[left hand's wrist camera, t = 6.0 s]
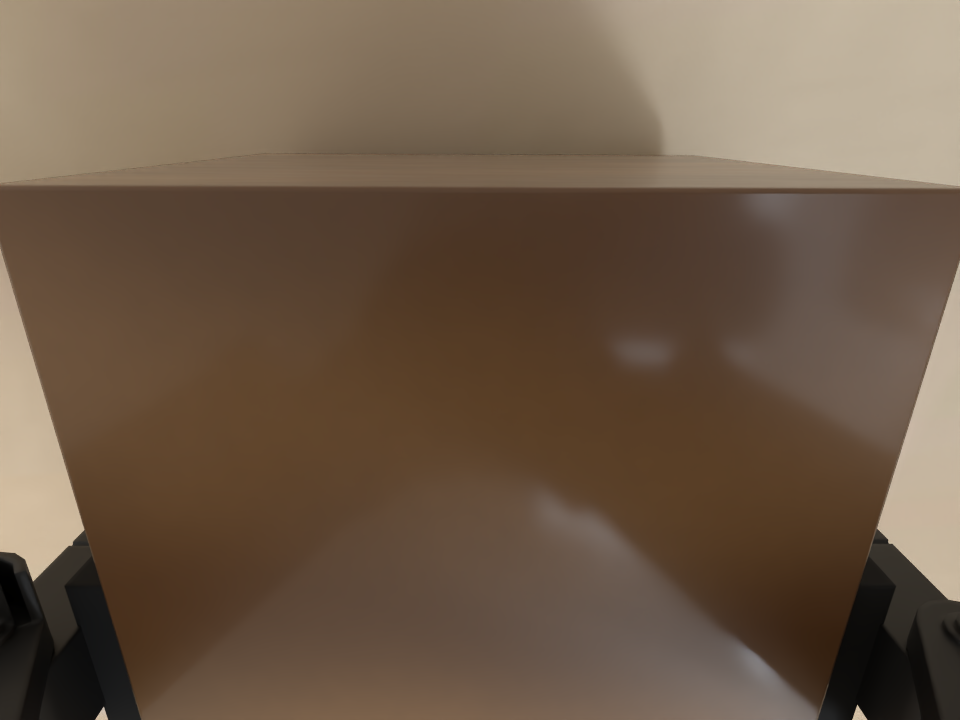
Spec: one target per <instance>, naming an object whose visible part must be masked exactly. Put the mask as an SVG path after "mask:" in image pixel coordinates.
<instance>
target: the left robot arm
mask: <svg viewBox="0 0 960 720" xmlns="http://www.w3.org/2000/svg"><path fill="white" fill-rule="evenodd" d="M857 705H858V706H859V708H860V709H861V711H862V712H863V714H864V715H865V717H866V718H867V720H960V602H957V601H952V600H948V599H947V598H946V597H945V596H944V595H943V594H942V593H941V592H940V591H939V590H938V589H937V588H936V587H935V586H934V585H933V584H932V583H931V582H930V581H929V580H928V579H927V578H926V577H925V576H924V575H923V574H922V573H921V572H920V571H919V570H918V569H917V568H916V567H915V566H914V565H913V564H912V563H911V562H910V561H909V560H908V559H907V558H906V557H905V556H904V555H903V554H902V553H901V552H900V551H899V550H898V549H897V548H896V547H895V546H894V545H893V544H889V543H888V539H887V538H886V537H885V536H884V535H883V534H882V533H881V532H880V531H879V530H878V529H876V533H875V536H874V539H873V542H872V546H871V549H870V552H869V555H868V558H867V562H866V565H865V568H864V571H863V575H862V578H861V581H860V584H859V588H858V591H857V594H856V597H855V600H854V604H853V607H852V610H851V613H850V617H849V620H848V623H847V626H846V630H845V633H844V636H843V639H842V642H841V646H840V649H839V652H838V655H837V659H836V662H835V665H834V668H833V671H832V675H831V678H830V681H829V684H828V688H827V691H826V694H825V697H824V701H823V704H822V707H821V710H820V713H819V717H818V720H852V719H853V716H854V713H855V710H856V707H857ZM103 707H104V708H105V711H106V714H107V717H108V720H141V717H140V714H139V710H138V707H137V704H136V700H135V697H134V694H133V690H132V687H131V684H130V680H129V677H128V673H127V670H126V667H125V663H124V660H123V657H122V653H121V650H120V647H119V643H118V640H117V637H116V633H115V630H114V627H113V623H112V620H111V616H110V613H109V610H108V606H107V603H106V600H105V596H104V593H103V590H102V586H101V583H100V580H99V576H98V573H97V570H96V566H95V563H94V560H93V556H92V553H91V549H90V546H89V543H88V539H87V536H86V533H85V530H84V531H83V532H82V533H81V534H80V535H79V536H78V537H77V538H76V539H75V540H74V541H73V545H72V546H68V547H67V548H66V549H65V550H64V551H63V552H62V553H61V554H60V555H59V556H58V557H57V558H56V559H55V560H54V561H53V562H52V563H51V564H50V565H49V566H48V567H47V568H46V569H45V570H44V571H43V572H42V573H41V574H40V575H39V576H38V577H37V578H36V579H35V580H34V582H33V581H32V578H31V575H30V572H29V570H28V567H27V564H26V561H25V559H23V558H22V557H20V556H19V555H17V554H15V553H7V552H0V720H95V719H96V717H97V716H98V714H99V713H100V711H101V710H102V708H103Z"/></svg>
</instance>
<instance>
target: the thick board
mask: <svg viewBox="0 0 960 720" xmlns="http://www.w3.org/2000/svg"><path fill="white" fill-rule="evenodd" d="M0 248H1V251H2V255H3V258H4V261H5V265H6V268H7V271H8V275H9V278H10V281H11V285H12V288H13V291H14V295H15V298H16V302H17V305H18V308H19V312H20V315H21V318H22V322H23V325H24V328H25V332H26V335H27V338H28V342H29V345H30V348H31V352H32V355H33V358H34V362H35V365H36V369H37V372H38V375H39V379H40V382H41V385H42V389H43V392H44V395H45V399H46V402H47V405H48V409H49V412H50V415H51V419H52V422H53V425H54V429H55V432H56V436H57V439H58V442H59V446H60V449H61V452H62V456H63V459H64V462H65V466H66V469H67V472H68V476H69V479H70V482H71V486H72V489H73V493H74V496H75V499H76V503H77V506H78V509H79V513H80V516H81V519H82V523H83V526H84V529H85V533H86V536H87V539H88V543H89V546H90V549H91V553H92V556H93V560H94V563H95V566H96V570H97V573H98V576H99V580H100V583H101V586H102V590H103V593H104V596H105V600H106V603H107V606H108V610H109V613H110V616H111V620H112V623H113V627H114V630H115V633H116V637H117V640H118V643H119V647H120V650H121V653H122V657H123V660H124V663H125V667H126V670H127V673H128V677H129V680H130V684H131V687H132V690H133V694H134V697H135V700H136V704H137V707H138V710H139V714H140V717H141V720H818V717H819V713H820V710H821V707H822V704H823V701H824V697H825V694H826V691H827V688H828V684H829V681H830V678H831V675H832V671H833V668H834V665H835V662H836V659H837V655H838V652H839V649H840V646H841V642H842V639H843V636H844V633H845V630H846V626H847V623H848V620H849V617H850V613H851V610H852V607H853V604H854V600H855V597H856V594H857V591H858V588H859V584H860V581H861V578H862V575H863V571H864V568H865V565H866V562H867V558H868V555H869V552H870V549H871V546H872V542H873V539H874V536H875V533H876V529H877V526H878V523H879V520H880V516H881V513H882V510H883V507H884V504H885V500H886V497H887V494H888V491H889V487H890V484H891V481H892V478H893V475H894V471H895V468H896V465H897V462H898V458H899V455H900V452H901V449H902V445H903V442H904V439H905V436H906V433H907V429H908V426H909V423H910V420H911V416H912V413H913V410H914V407H915V403H916V400H917V397H918V394H919V391H920V387H921V384H922V381H923V378H924V374H925V371H926V368H927V365H928V362H929V358H930V355H931V352H932V349H933V345H934V342H935V339H936V336H937V332H938V329H939V326H940V323H941V320H942V316H943V313H944V310H945V307H946V303H947V300H948V297H949V294H950V290H951V287H952V284H953V281H954V278H955V274H956V271H957V268H958V265H959V261H960V186H951V185H943V184H934V183H925V182H917V181H908V180H900V179H891V178H882V177H874V176H865V175H857V174H848V173H839V172H831V171H822V170H814V169H805V168H796V167H788V166H779V165H771V164H762V163H753V162H745V161H736V160H728V159H719V158H710V157H702V156H693V155H462V154H257V155H248V156H239V157H230V158H221V159H212V160H204V161H195V162H186V163H177V164H168V165H159V166H150V167H142V168H133V169H124V170H115V171H106V172H97V173H88V174H80V175H71V176H62V177H53V178H44V179H35V180H26V181H18V182H9V183H0Z"/></svg>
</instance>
